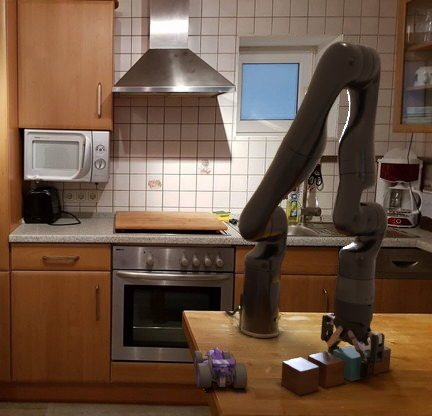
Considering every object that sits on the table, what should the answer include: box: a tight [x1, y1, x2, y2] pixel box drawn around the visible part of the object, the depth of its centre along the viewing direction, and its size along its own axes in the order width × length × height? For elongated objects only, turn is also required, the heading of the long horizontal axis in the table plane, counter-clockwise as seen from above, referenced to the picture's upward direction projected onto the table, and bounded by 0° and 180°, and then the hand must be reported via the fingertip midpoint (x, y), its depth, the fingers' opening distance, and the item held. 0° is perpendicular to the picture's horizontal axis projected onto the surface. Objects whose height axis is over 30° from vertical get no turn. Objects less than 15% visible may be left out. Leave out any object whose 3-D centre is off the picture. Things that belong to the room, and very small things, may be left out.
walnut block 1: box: [280, 356, 319, 396], centre depth 106 cm, size 5×5×5 cm
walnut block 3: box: [361, 342, 392, 376], centre depth 115 cm, size 5×5×5 cm
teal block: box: [333, 345, 367, 382], centre depth 112 cm, size 5×5×5 cm
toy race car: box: [192, 347, 248, 389], centre depth 111 cm, size 10×15×6 cm, turn 1°
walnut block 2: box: [307, 351, 345, 389], centre depth 109 cm, size 5×5×5 cm
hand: (348, 370), depth 112 cm, fingers open, 7 cm apart
